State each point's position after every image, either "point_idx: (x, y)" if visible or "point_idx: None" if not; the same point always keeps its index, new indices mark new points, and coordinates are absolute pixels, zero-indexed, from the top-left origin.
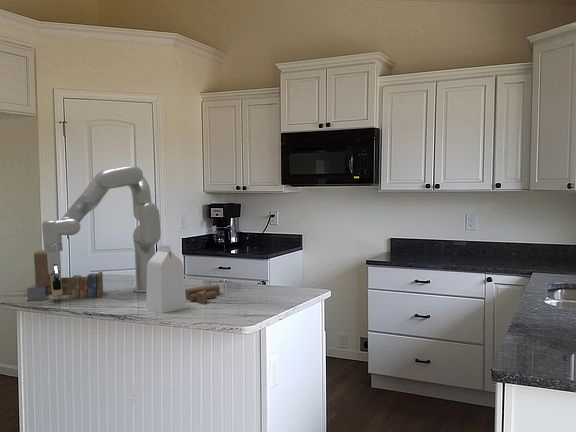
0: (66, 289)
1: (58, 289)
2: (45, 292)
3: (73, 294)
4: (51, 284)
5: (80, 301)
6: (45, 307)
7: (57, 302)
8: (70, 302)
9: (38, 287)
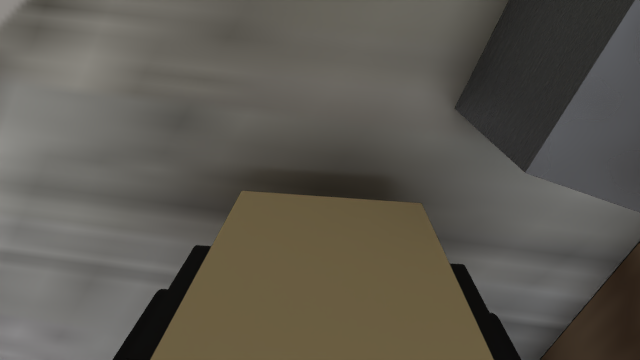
0: (616, 356)
1: None
2: (490, 138)
3: None
4: (328, 285)
5: None
6: (16, 53)
7: None
8: None
9: (607, 54)
